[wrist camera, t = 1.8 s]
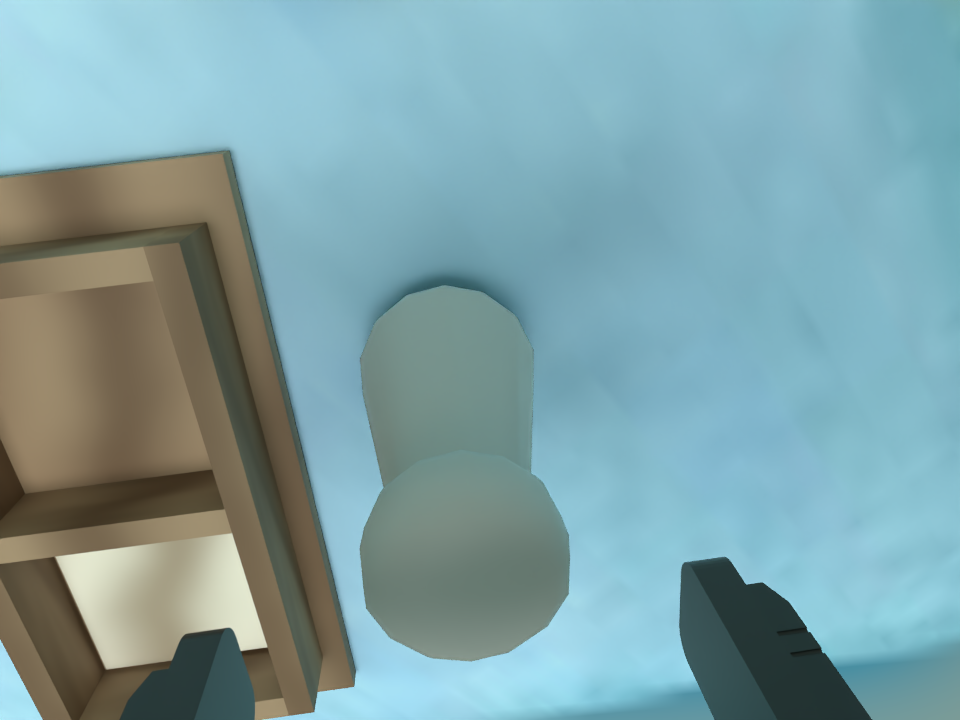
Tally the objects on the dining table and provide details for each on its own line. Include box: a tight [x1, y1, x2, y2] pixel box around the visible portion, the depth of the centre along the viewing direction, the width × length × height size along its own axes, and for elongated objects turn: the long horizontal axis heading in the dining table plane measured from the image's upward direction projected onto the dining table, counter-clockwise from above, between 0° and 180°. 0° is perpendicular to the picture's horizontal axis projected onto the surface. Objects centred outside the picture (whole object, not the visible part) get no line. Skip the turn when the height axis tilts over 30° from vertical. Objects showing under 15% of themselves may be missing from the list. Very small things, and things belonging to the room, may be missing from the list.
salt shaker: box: [360, 285, 570, 661], centre depth 19 cm, size 6×6×13 cm
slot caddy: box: [0, 151, 356, 720], centre depth 24 cm, size 12×23×4 cm, turn 6°
